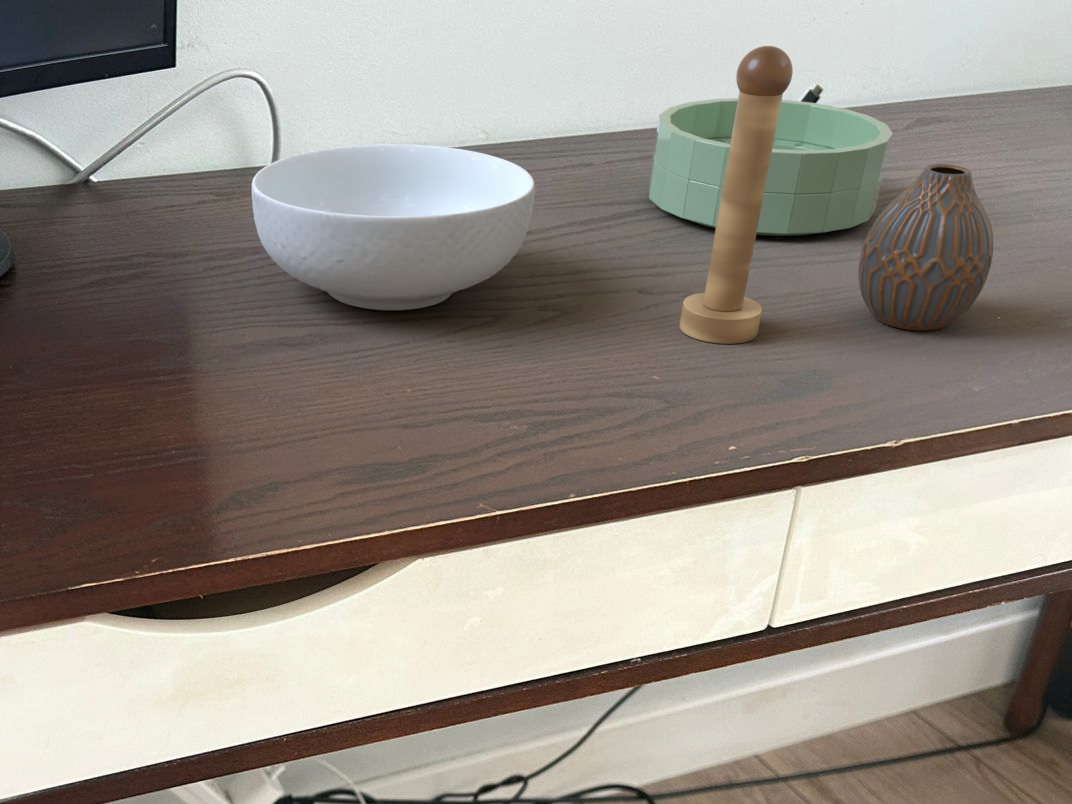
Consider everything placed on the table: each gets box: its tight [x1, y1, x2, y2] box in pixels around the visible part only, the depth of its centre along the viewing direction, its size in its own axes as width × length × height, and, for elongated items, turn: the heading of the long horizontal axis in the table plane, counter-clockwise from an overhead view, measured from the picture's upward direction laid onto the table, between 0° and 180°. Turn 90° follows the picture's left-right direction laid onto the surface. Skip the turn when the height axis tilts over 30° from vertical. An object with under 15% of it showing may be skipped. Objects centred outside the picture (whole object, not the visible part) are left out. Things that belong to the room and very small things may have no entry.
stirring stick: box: [679, 45, 794, 345], centre depth 75 cm, size 4×4×16 cm
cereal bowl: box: [251, 143, 536, 311], centre depth 84 cm, size 17×17×7 cm
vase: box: [858, 163, 994, 332], centre depth 79 cm, size 7×7×9 cm
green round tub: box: [648, 97, 894, 237], centre depth 98 cm, size 16×16×6 cm
